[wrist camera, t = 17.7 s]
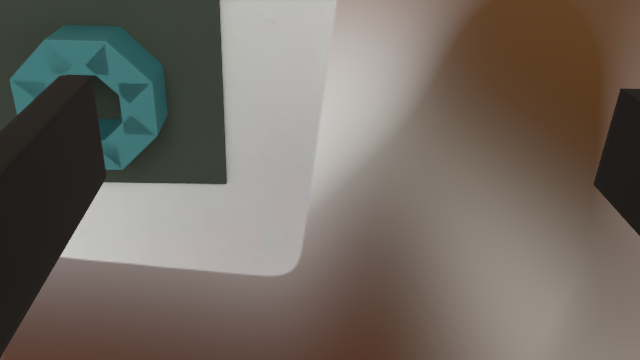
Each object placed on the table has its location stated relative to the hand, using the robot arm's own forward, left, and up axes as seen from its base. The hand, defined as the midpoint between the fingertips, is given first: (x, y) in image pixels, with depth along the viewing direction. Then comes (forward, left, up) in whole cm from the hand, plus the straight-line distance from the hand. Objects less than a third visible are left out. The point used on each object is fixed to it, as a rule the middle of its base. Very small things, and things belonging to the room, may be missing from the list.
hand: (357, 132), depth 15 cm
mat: (+16, +10, -31) cm, 36 cm away
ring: (+16, +10, -30) cm, 36 cm away
